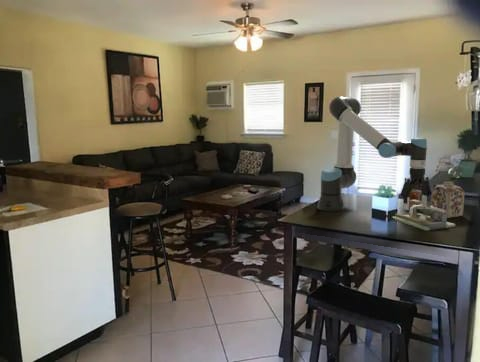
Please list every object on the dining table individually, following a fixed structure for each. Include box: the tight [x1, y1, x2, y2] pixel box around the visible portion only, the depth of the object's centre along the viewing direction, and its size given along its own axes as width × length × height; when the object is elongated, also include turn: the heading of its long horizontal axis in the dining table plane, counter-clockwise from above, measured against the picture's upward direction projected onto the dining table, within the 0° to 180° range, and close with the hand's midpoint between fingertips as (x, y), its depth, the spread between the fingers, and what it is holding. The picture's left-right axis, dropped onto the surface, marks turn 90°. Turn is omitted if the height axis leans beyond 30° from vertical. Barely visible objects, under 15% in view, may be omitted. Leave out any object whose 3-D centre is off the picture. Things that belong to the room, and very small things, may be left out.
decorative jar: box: [429, 181, 465, 219], centre depth 208 cm, size 12×12×18 cm
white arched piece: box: [409, 199, 446, 219], centre depth 197 cm, size 21×10×7 cm, turn 20°
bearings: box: [430, 211, 448, 222], centre depth 192 cm, size 7×3×6 cm, turn 20°
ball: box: [419, 214, 426, 221], centre depth 192 cm, size 3×3×3 cm
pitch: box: [391, 211, 456, 231], centre depth 195 cm, size 23×18×3 cm
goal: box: [420, 218, 447, 231], centre depth 186 cm, size 6×10×3 cm, turn 110°
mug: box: [408, 189, 422, 210], centre depth 224 cm, size 12×9×10 cm
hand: (415, 208), depth 206 cm, fingers open, 11 cm apart
